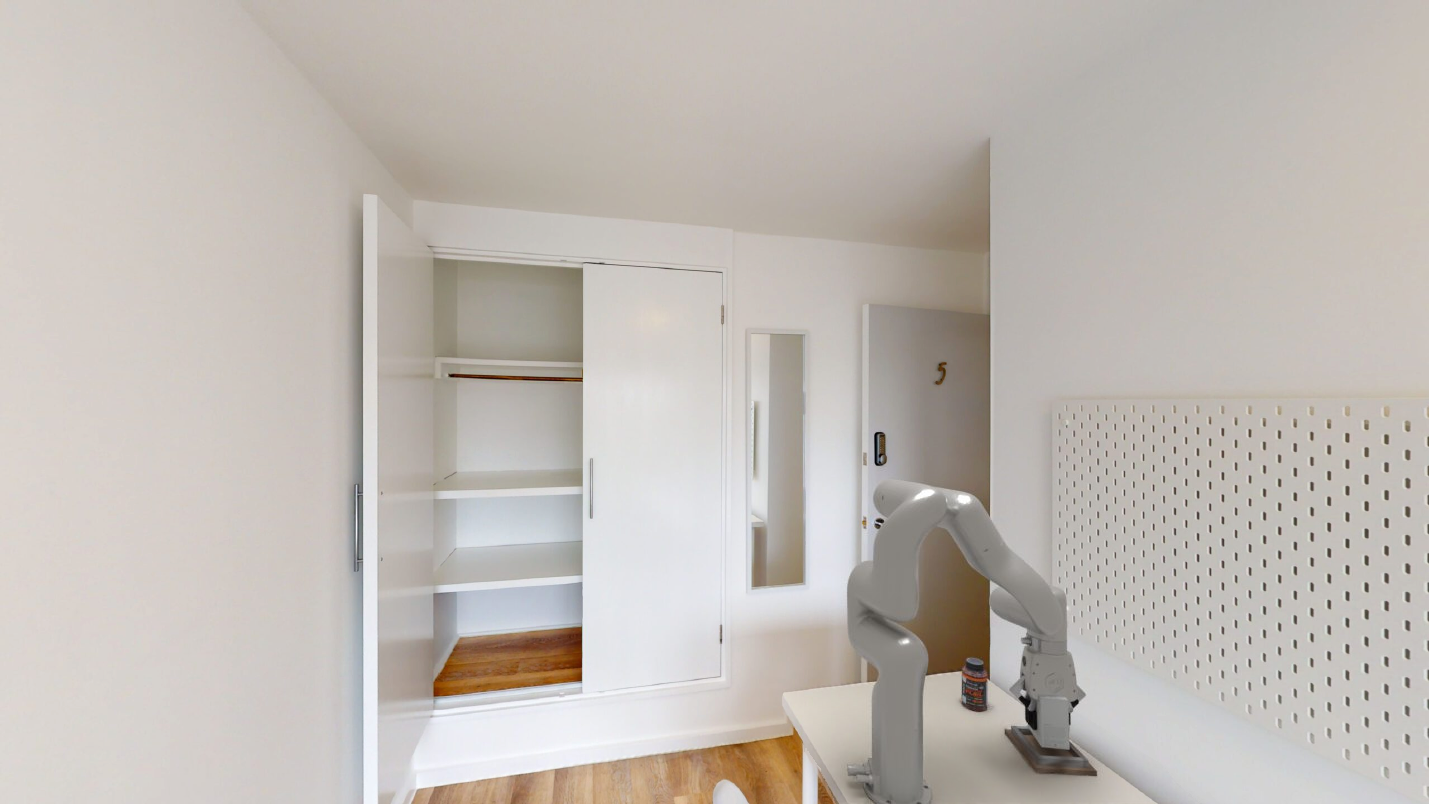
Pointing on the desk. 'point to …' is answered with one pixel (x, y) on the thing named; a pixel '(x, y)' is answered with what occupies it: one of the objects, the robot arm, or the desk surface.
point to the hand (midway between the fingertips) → (1047, 726)
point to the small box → (1052, 722)
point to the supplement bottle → (974, 685)
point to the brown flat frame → (1048, 755)
